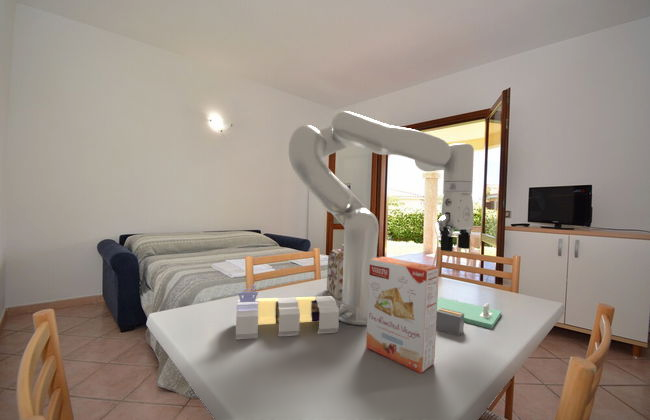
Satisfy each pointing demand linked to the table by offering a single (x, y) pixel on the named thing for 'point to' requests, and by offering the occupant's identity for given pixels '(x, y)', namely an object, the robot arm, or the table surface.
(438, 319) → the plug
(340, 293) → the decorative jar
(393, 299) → the cracker box
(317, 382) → the table surface
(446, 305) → the board
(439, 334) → the table surface
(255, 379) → the table surface
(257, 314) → the white and yellow block
